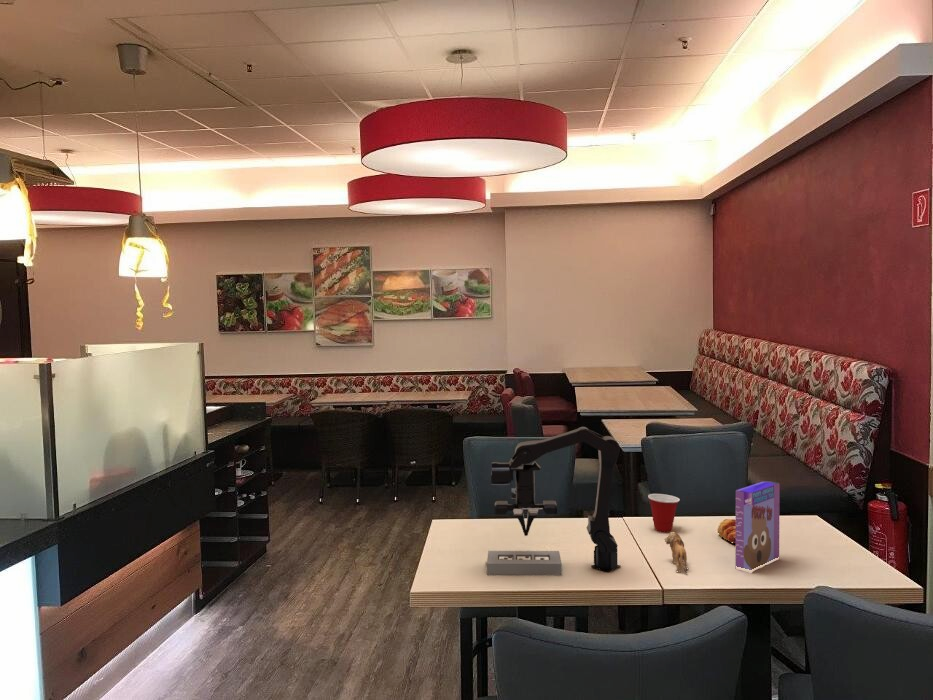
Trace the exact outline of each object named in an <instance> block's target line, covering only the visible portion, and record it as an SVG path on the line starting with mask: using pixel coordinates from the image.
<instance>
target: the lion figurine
mask: <svg viewBox="0 0 933 700" xmlns="http://www.w3.org/2000/svg"><path fill="white" fill-rule="evenodd" d="M663 541H664V542H665V543H666V545H669V547H670V549H671V557H672V561H671V562H672V563H675V564H676V570H675V572H676V571H678V573H680V572H681V568H682V571H684V573H685V574H688V570H685V569H687V568H688V569H689V567H688V564H687V560H688V556H687V551H686V549H685V543H684V541H683V539H682V537H681V536H680V534H678V533H677V532H675V531H671V532H669V535H667V536H666V537H665V538H663ZM680 562H681V563H680ZM683 562H684V563H683ZM672 563H671V564H672ZM680 565H681V568H680Z"/></svg>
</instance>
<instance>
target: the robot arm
mask: <svg viewBox="0 0 933 700" xmlns="http://www.w3.org/2000/svg"><path fill="white" fill-rule="evenodd" d="M580 443H585V444H587V445H589V446H591V447H592V448H593V449H595V450H597V451H598V454H597V455H598V462H599V470H598V471H599V472H598V480H597V487H596V488H597V489H596V491H597V492H596V497H595V507H594V512H593V515H587V522H588V523H587V526H586V531H587V533H588V535H589V537H590V540H591V542H592V543H593V544H595V546H594V550H593V564H592V565H591V568H593V569H596V570H599V571H601V572H602V571H603V572H606V573H609V572H612V571H615V570H617V569H620V568H621V565H620V564H618V543H617V541H616V539H615V537H614V535H612V533H611V529H610V528H611V527H610V519H609V511H610V503H611V502H610V500H611V492H612V491H611V490H612V482H613V474H614V469H615V466H616V464H617V461H618V460H619V455H620V451H621V446H620V444H619V442H618V441H617V440H616V439H615V438H614V437H612V436H609V435H605V436H603V435H601V434H599V433H597V432H595V431H594V430H591V429H589V428H588V427H586V426H581V427H578V428H575V429H573V430H570V431H568V432H567V431H566V432H563V433H560V434H558V435H554V436H551V437H549V438H545V439H540V440H528V441H521V442H519V443H518V444H516V447H515V448H514V449H515V450H514V454H513V456H512V457H511V458H510V460H509V462H497V461H493V462H491V473H490V477H491V478H490V481H491V482H490V483H491V486H507V485H508V486H509V485H510V484H511V483H512V482H514V471H515V487H512V488H511V489H510V491H511V493H510V494H511V496H510V497H511V499H512V500H515V503H511V504H510V503H508V500H496V501H495V502H494V515H506V514H507V513H508V511H509V512H511V511H512V512H513V517H514V518H517V520H518V521H519V524H520V526H521V528H522V531H523V534H524V536H525V537H528V535H529V532H530V528H531V526H532V523H533V521H534V519H535V518H538V517H539V513H538V512H539V511H543V512H544V513H545V514H546V515H556V514H558V506H557V502H556V500H543V501H542V502H543V503H536V486H535V483H536V481H535V480H536V479H535V471H541V470H542V469H541V466H540V465H539V464H538V463H537V462H536V460H538V459H539V458H541V457H542V456H544V455H547V454H548V453H552V452H554V451H558V450H562V449H564V448H567V447H570V446H574V445H576V444H580ZM510 486H511V485H510ZM524 511H527V517H526V521H525V515H524Z"/></svg>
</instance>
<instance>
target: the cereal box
mask: <svg viewBox="0 0 933 700" xmlns="http://www.w3.org/2000/svg"><path fill="white" fill-rule="evenodd" d="M780 486H781V485H780V483H779V482H776V481H771V480H770V481H769V480H763V481H761V482H760V481H759V482H758V483H754V484H751V485H748V486H745V487H742V488H738V489H736V490H735V520H736V543H735V567H736V566H737V567H741V568H745V569H749V570H752V569H754V568H756V567H758V566H760V565H763V564H765V563H767V562H769V561H771V560H773V559H775V558H778V557H779V558H780V503H781V501H780V498H781V497H780Z"/></svg>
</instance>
